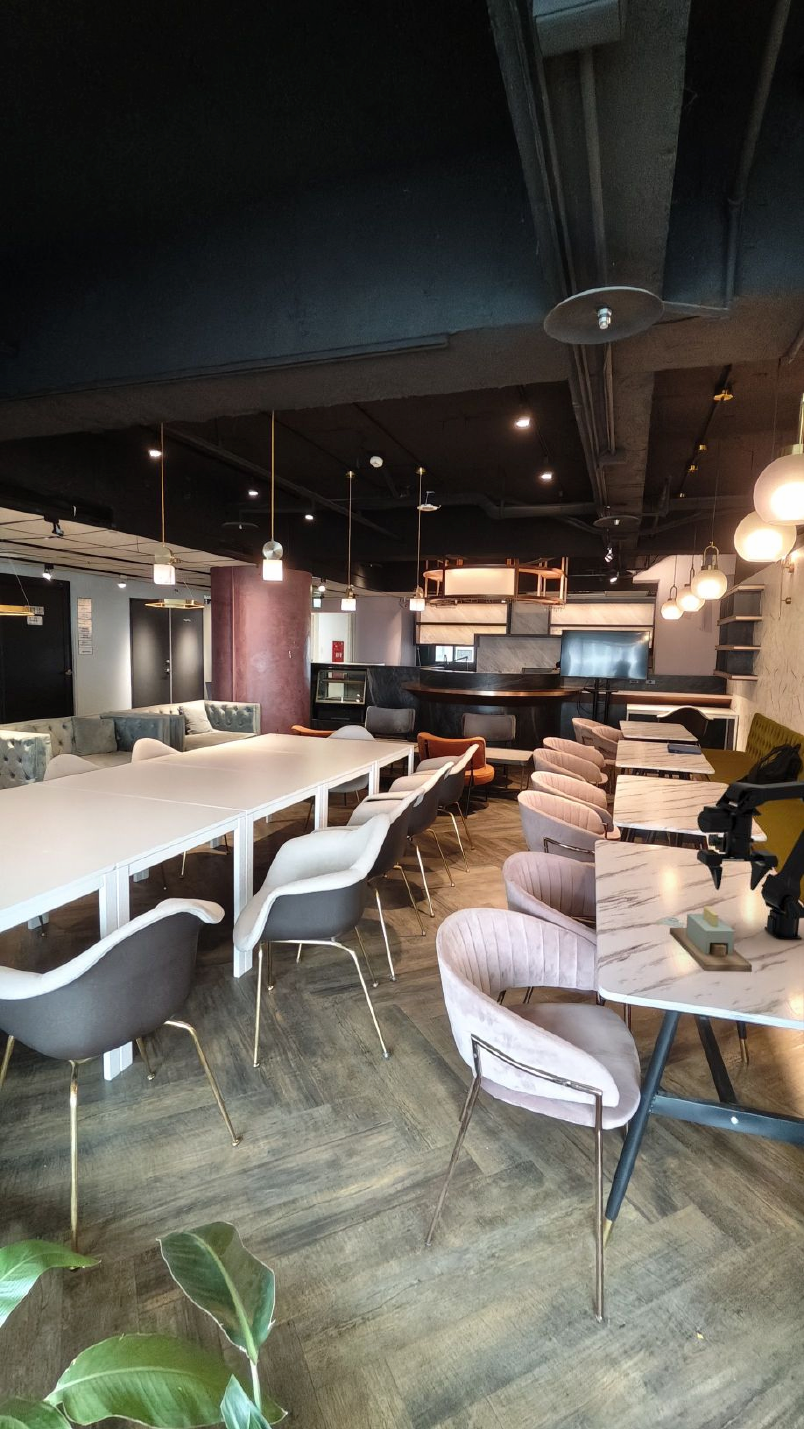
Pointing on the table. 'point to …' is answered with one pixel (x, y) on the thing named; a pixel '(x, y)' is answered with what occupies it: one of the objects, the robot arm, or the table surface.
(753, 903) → the table surface
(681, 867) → the table surface
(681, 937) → the cleat board
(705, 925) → the cabinet block
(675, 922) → the mounting bracket
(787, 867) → the robot arm
